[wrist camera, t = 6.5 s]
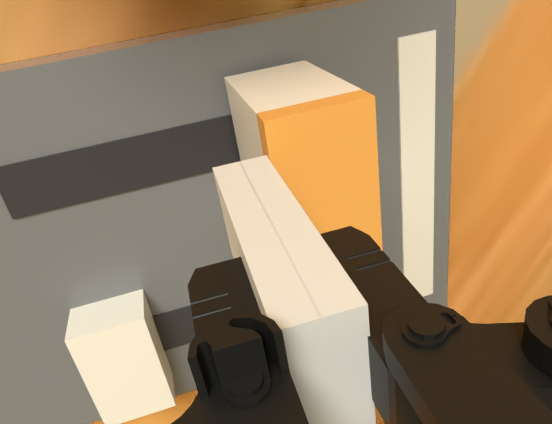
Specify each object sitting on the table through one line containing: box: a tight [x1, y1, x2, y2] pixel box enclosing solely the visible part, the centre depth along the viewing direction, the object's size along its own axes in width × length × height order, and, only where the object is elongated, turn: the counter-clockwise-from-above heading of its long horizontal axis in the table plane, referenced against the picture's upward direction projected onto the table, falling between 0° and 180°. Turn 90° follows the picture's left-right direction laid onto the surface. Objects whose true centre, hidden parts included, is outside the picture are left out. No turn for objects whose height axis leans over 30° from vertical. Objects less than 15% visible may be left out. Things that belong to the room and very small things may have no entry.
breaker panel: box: [0, 0, 456, 424], centre depth 20 cm, size 24×16×4 cm, turn 99°
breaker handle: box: [224, 60, 383, 251], centre depth 16 cm, size 3×5×6 cm, turn 9°
